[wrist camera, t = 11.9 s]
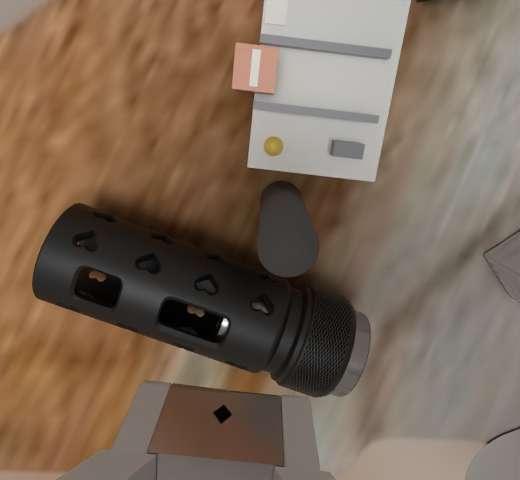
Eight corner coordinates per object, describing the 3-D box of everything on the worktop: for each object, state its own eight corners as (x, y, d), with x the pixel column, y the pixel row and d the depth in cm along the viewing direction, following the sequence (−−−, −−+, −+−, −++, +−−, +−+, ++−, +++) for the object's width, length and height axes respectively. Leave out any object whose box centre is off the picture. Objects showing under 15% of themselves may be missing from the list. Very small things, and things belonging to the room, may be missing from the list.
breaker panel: (395, 10, 35) (418, -8, 30) (364, 174, 39) (379, 185, 34) (266, -6, 35) (266, -27, 29) (249, 161, 39) (246, 169, 34)
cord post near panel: (304, 183, 40) (323, 222, 26) (298, 223, 41) (313, 280, 27) (263, 178, 39) (260, 215, 26) (258, 219, 41) (254, 273, 27)
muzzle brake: (99, 188, 40) (44, 214, 30) (359, 286, 43) (387, 339, 33) (76, 272, 43) (19, 321, 33) (322, 359, 46) (337, 429, 36)
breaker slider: (277, 54, 32) (279, 47, 28) (273, 95, 33) (273, 93, 29) (239, 50, 32) (235, 41, 28) (236, 90, 33) (231, 88, 29)
